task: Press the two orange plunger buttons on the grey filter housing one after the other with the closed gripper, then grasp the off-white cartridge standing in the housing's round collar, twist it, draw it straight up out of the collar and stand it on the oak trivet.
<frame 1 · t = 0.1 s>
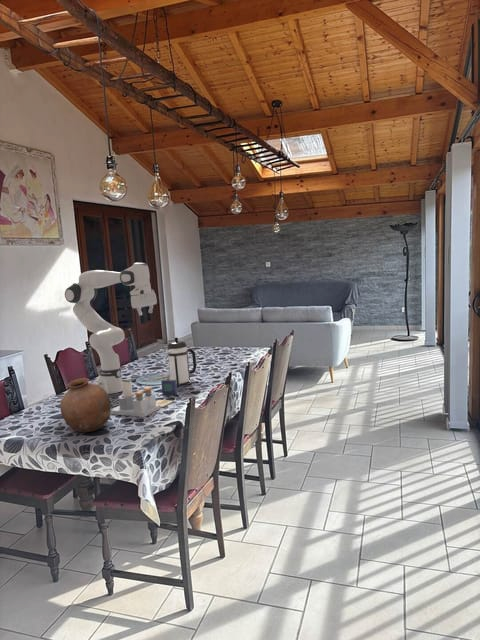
hand: (145, 314, 277), 48 cm above the table, tool pointing down, fingers open, 8 cm apart
plunger b: (148, 394, 253), point 8 cm above the table, slide at 0.0 cm
coffee press: (182, 383, 302), on the table
cartridge: (129, 406, 255), point 2 cm above the table, touching housing
pottery: (88, 430, 230), on the table
plunger a: (139, 398, 246), point 8 cm above the table, slide at 0.0 cm
dark blue rectangular block: (169, 394, 279), on the table
trivet: (160, 404, 262), on the table
housing: (135, 410, 253), on the table
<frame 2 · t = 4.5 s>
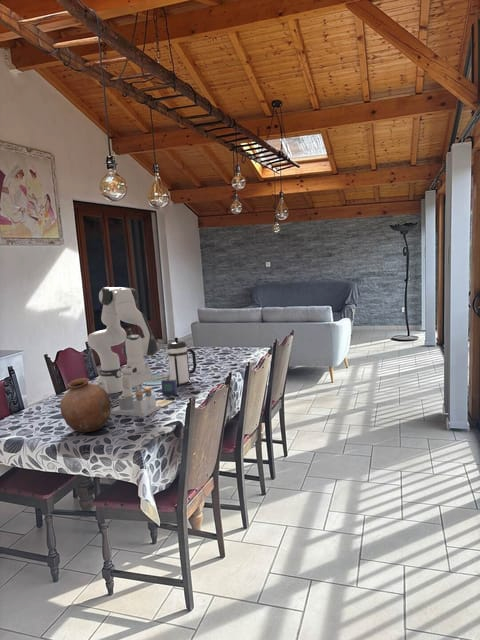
hand: (139, 392, 245), 12 cm above the table, tool pointing down, fingers closed, pressing on plunger a
plunger a: (139, 398, 246), point 8 cm above the table, slide at 0.2 cm, touching gripper
everything else where it was.
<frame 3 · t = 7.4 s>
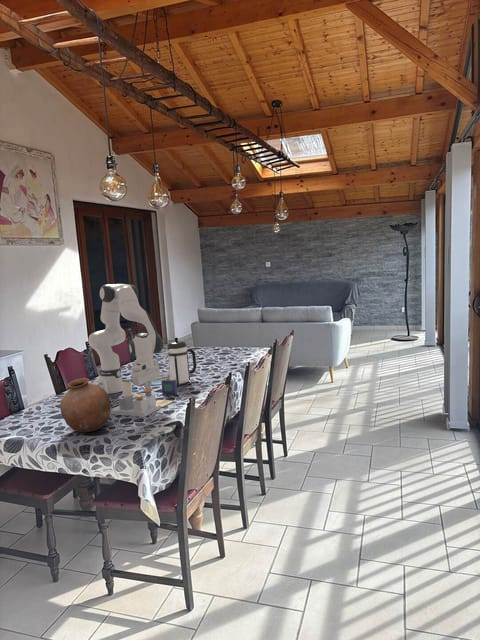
hand: (148, 389, 252), 11 cm above the table, tool pointing down, fingers closed, pressing on plunger b
plunger b: (148, 395, 253), point 8 cm above the table, slide at 0.7 cm, touching gripper
plunger a: (139, 402, 246), point 6 cm above the table, slide at 1.9 cm
everything else where it was.
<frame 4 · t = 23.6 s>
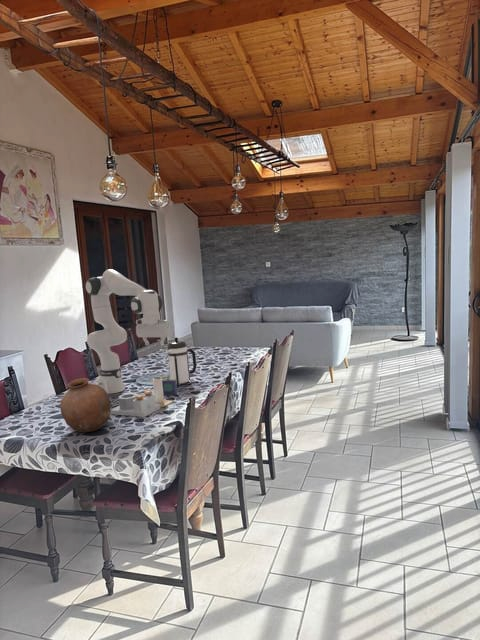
hand: (154, 345, 257), 33 cm above the table, tool pointing down, fingers open, 8 cm apart
plunger b: (148, 397, 253), point 6 cm above the table, slide at 1.9 cm
cartridge: (159, 403, 261), point 1 cm above the table, touching trivet
everything else where it was.
at the end: cartridge inside the target area on the trivet (0.5 cm from its centre), point 0.7 cm above the trivet's base; cartridge tilted 1°; the gripper is holding nothing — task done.
